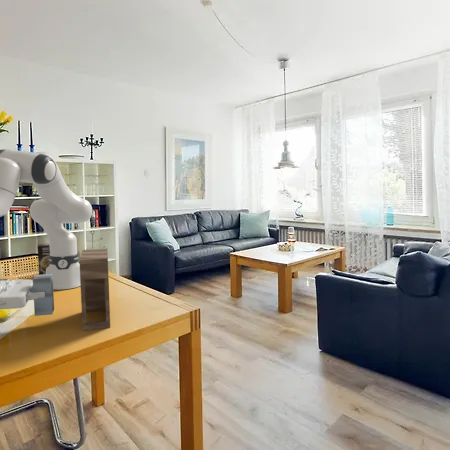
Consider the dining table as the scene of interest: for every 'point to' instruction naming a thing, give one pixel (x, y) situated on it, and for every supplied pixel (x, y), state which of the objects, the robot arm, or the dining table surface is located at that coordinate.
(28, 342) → the dining table surface
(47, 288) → the slate block
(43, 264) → the coffee box
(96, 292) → the walnut box
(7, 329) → the dining table surface
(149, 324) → the dining table surface
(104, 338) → the dining table surface
